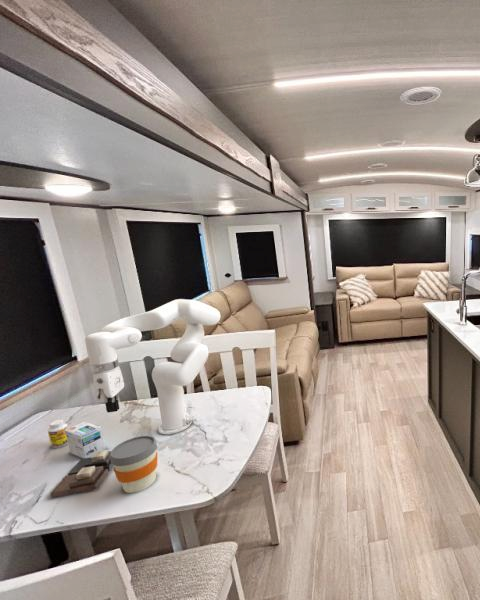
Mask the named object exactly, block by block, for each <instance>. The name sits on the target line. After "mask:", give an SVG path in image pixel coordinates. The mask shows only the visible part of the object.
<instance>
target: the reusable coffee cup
mask: <svg viewBox="0 0 480 600" xmlns="http://www.w3.org/2000/svg"><path fill="white" fill-rule="evenodd" d="M157 448H158V444H157V441H156V438H155V437H154V436H152V435H139V436H135V437H132V438H129V439H126V440H125V441H122V442H120V443H119V444H117V445H116V446H115V447H114V448H112V450H110V451H111V463H112V465H114V466H113V468H112V469H113V473H114V474H115V478H116V479H117V481H118V482H120V484H121V487H122V489H123V491H124V492H125V493H127V494H133V493H138V492H141V491H143V490H145V489H146V488H148V487H150V486H151V485H153V483H154V482H155V481H156V477H157V467H158V451H157Z"/></svg>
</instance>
